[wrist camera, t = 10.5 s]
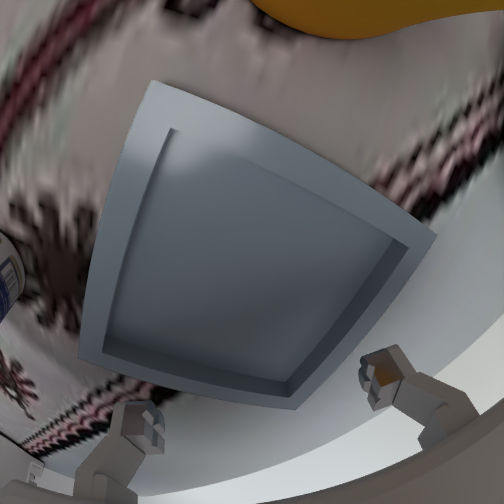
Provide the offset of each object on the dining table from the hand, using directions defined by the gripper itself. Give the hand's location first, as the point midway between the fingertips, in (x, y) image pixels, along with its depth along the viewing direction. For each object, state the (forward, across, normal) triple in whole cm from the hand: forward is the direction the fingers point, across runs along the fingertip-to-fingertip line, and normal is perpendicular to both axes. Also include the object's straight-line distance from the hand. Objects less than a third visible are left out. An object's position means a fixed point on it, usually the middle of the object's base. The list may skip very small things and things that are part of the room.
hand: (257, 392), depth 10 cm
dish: (+7, 0, 0) cm, 7 cm away
